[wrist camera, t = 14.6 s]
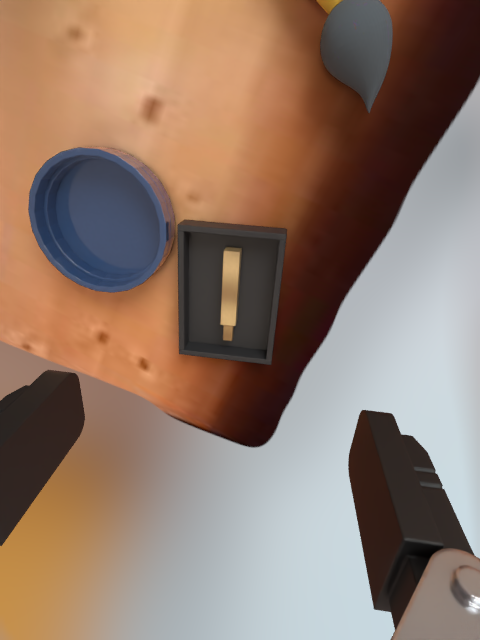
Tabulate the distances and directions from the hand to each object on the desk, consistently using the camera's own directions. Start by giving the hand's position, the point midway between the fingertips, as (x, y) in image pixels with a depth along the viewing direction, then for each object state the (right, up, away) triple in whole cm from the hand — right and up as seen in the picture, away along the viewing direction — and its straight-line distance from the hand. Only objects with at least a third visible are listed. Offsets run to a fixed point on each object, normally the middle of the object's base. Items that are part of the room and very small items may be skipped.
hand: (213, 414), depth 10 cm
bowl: (-12, +13, +27) cm, 32 cm away
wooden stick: (0, +5, +28) cm, 29 cm away
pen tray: (0, +6, +29) cm, 29 cm away
